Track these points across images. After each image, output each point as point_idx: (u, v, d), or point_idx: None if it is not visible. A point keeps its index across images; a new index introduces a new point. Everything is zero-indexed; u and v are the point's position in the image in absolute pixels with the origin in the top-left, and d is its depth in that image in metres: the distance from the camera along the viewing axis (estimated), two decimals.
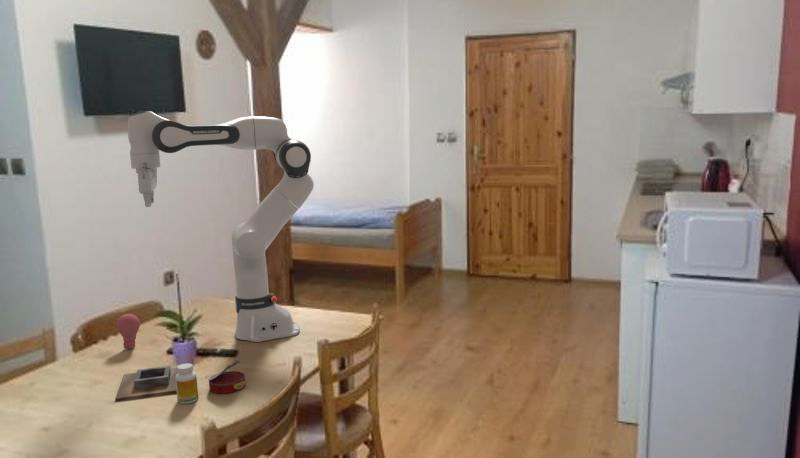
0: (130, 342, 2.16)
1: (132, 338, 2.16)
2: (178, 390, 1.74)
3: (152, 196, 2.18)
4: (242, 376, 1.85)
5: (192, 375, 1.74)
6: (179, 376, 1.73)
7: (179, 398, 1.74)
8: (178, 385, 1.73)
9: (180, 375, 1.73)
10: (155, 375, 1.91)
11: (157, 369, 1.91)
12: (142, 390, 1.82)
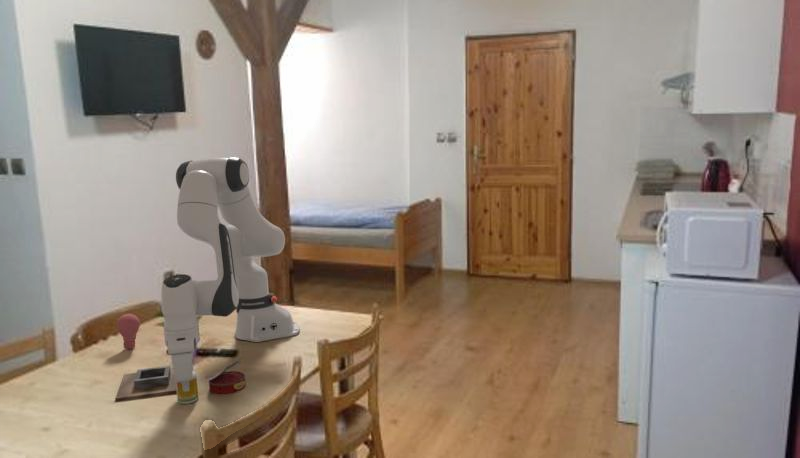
0: (130, 342, 2.16)
1: (132, 338, 2.16)
2: (178, 390, 1.74)
3: None
4: (242, 376, 1.85)
5: (192, 375, 1.74)
6: None
7: (179, 398, 1.74)
8: (178, 385, 1.73)
9: None
10: (155, 375, 1.91)
11: (157, 369, 1.91)
12: (142, 390, 1.82)
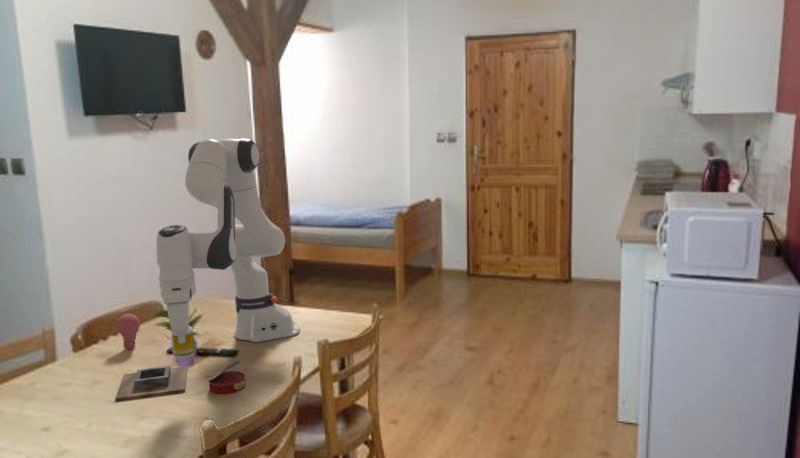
0: (130, 342, 2.16)
1: (132, 338, 2.16)
2: (174, 344, 1.72)
3: None
4: (242, 376, 1.85)
5: (188, 329, 1.72)
6: None
7: (175, 352, 1.72)
8: (174, 339, 1.71)
9: None
10: (155, 375, 1.91)
11: (157, 369, 1.91)
12: (142, 390, 1.82)
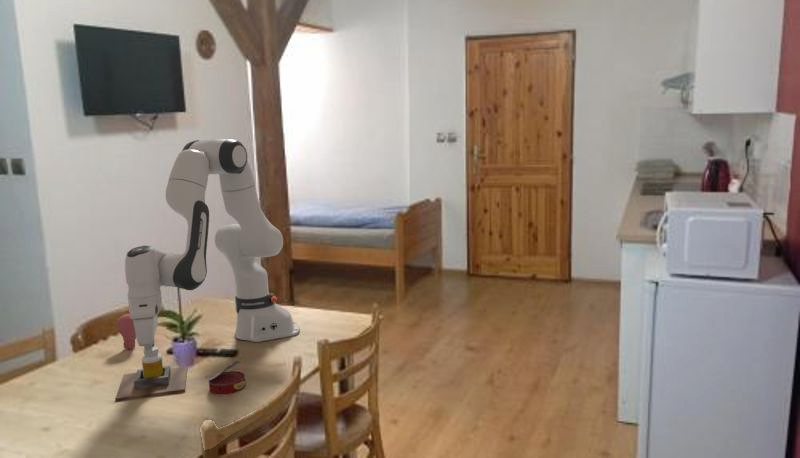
0: (130, 342, 2.16)
1: (132, 338, 2.16)
2: (144, 371, 1.85)
3: None
4: (242, 376, 1.85)
5: (157, 357, 1.86)
6: (145, 358, 1.85)
7: None
8: (144, 366, 1.85)
9: (146, 357, 1.85)
10: None
11: None
12: (142, 390, 1.82)
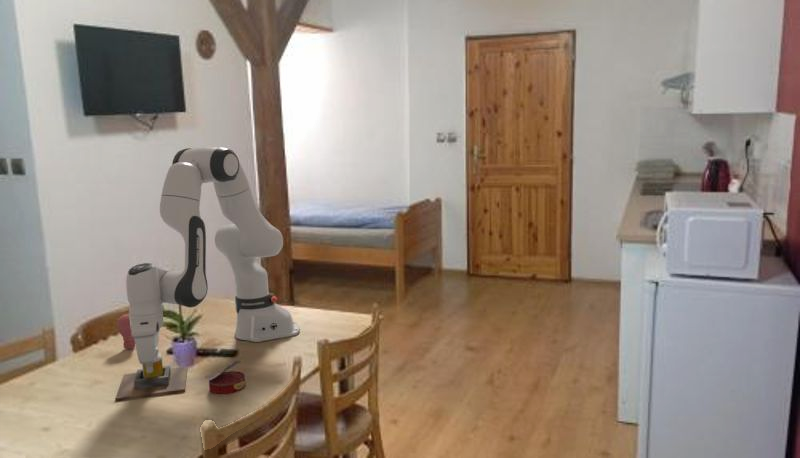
0: (130, 342, 2.16)
1: (132, 338, 2.16)
2: (144, 371, 1.85)
3: None
4: (242, 376, 1.85)
5: (157, 357, 1.86)
6: None
7: None
8: (144, 366, 1.85)
9: None
10: None
11: None
12: (142, 390, 1.82)
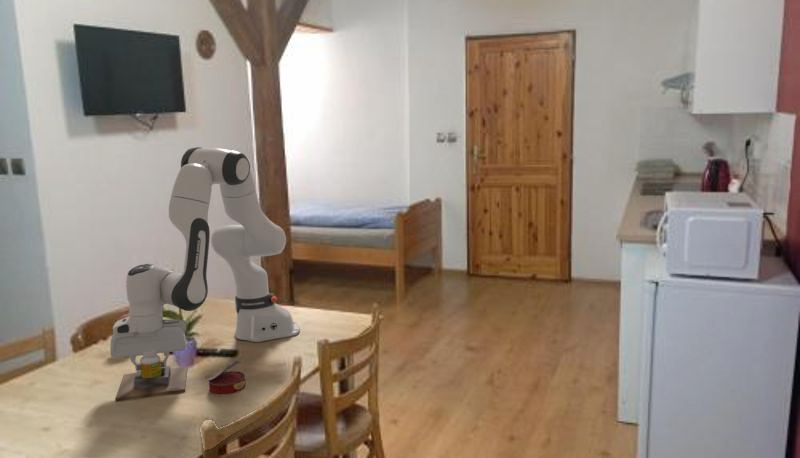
0: None
1: None
2: None
3: None
4: (242, 376, 1.85)
5: (149, 360, 1.84)
6: (142, 357, 1.85)
7: None
8: None
9: (143, 357, 1.85)
10: None
11: None
12: (142, 390, 1.82)
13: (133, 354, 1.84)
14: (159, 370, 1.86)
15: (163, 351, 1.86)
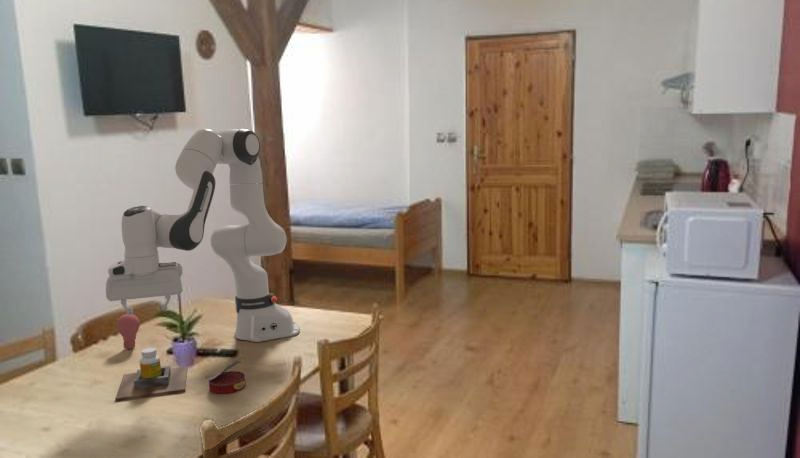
0: (130, 342, 2.16)
1: (132, 338, 2.16)
2: None
3: (128, 306, 1.84)
4: (242, 376, 1.85)
5: (148, 360, 1.84)
6: None
7: None
8: None
9: (142, 357, 1.85)
10: None
11: None
12: (142, 390, 1.82)
13: (129, 297, 1.81)
14: (159, 370, 1.86)
15: (159, 294, 1.84)
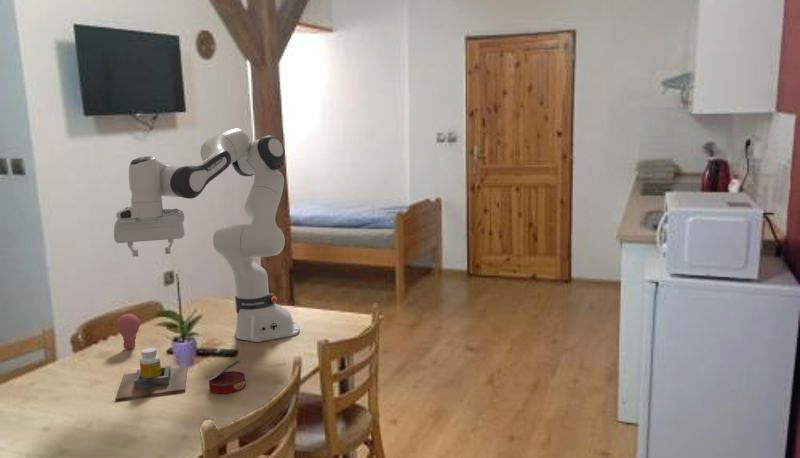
0: (130, 342, 2.16)
1: (132, 338, 2.16)
2: None
3: None
4: (242, 376, 1.85)
5: (148, 360, 1.84)
6: None
7: None
8: None
9: (142, 357, 1.85)
10: None
11: None
12: (142, 390, 1.82)
13: (135, 239, 1.98)
14: (159, 370, 1.86)
15: (163, 238, 2.00)
